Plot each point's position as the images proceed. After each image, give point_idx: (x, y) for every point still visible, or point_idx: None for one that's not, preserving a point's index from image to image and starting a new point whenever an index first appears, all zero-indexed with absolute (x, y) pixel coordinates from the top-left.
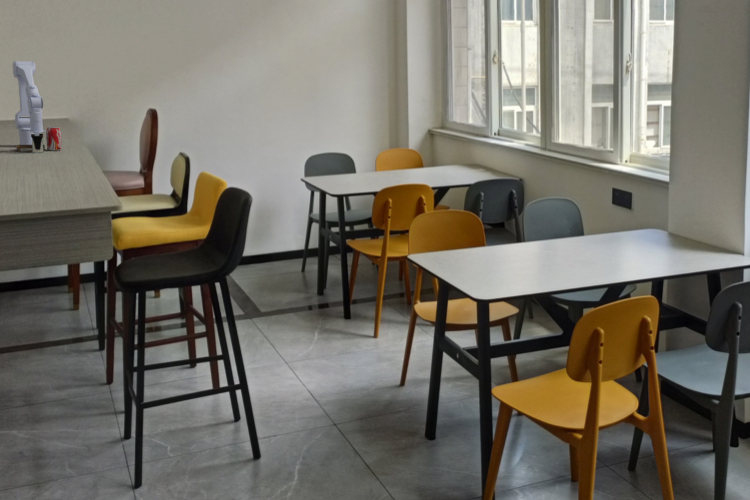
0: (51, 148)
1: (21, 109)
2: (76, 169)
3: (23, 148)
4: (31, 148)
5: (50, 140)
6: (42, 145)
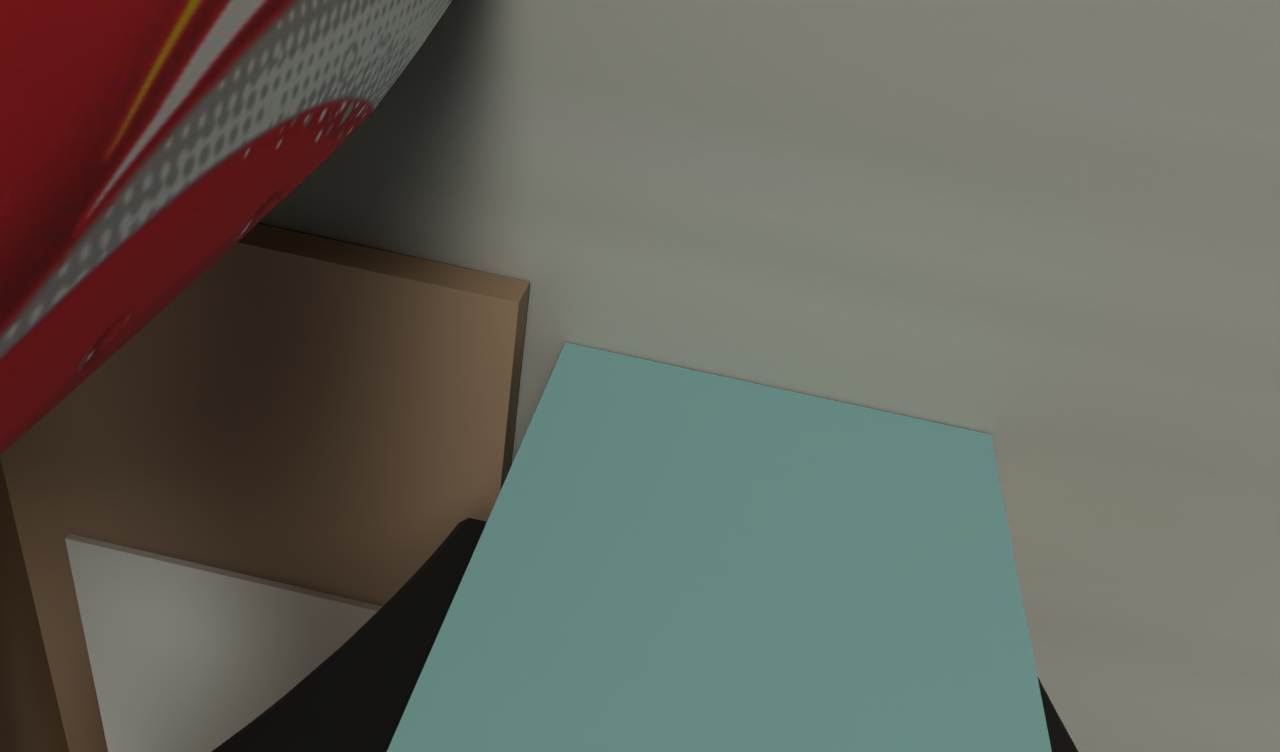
0: (433, 15)
1: None
2: None
3: (62, 741)
4: (21, 577)
5: (202, 242)
6: (1028, 698)
